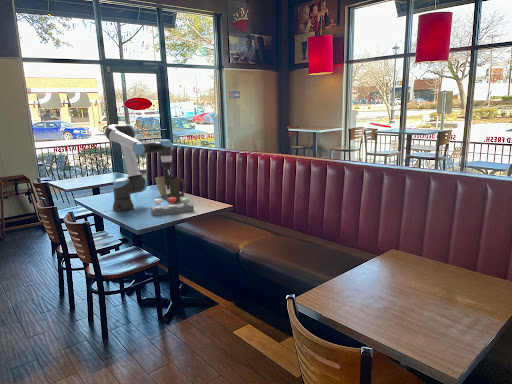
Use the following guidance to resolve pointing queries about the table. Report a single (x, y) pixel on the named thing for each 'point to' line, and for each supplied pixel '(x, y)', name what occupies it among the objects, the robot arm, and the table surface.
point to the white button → (158, 201)
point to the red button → (171, 200)
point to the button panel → (172, 209)
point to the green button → (185, 200)
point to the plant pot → (161, 186)
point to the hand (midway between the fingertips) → (168, 193)
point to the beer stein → (176, 188)
